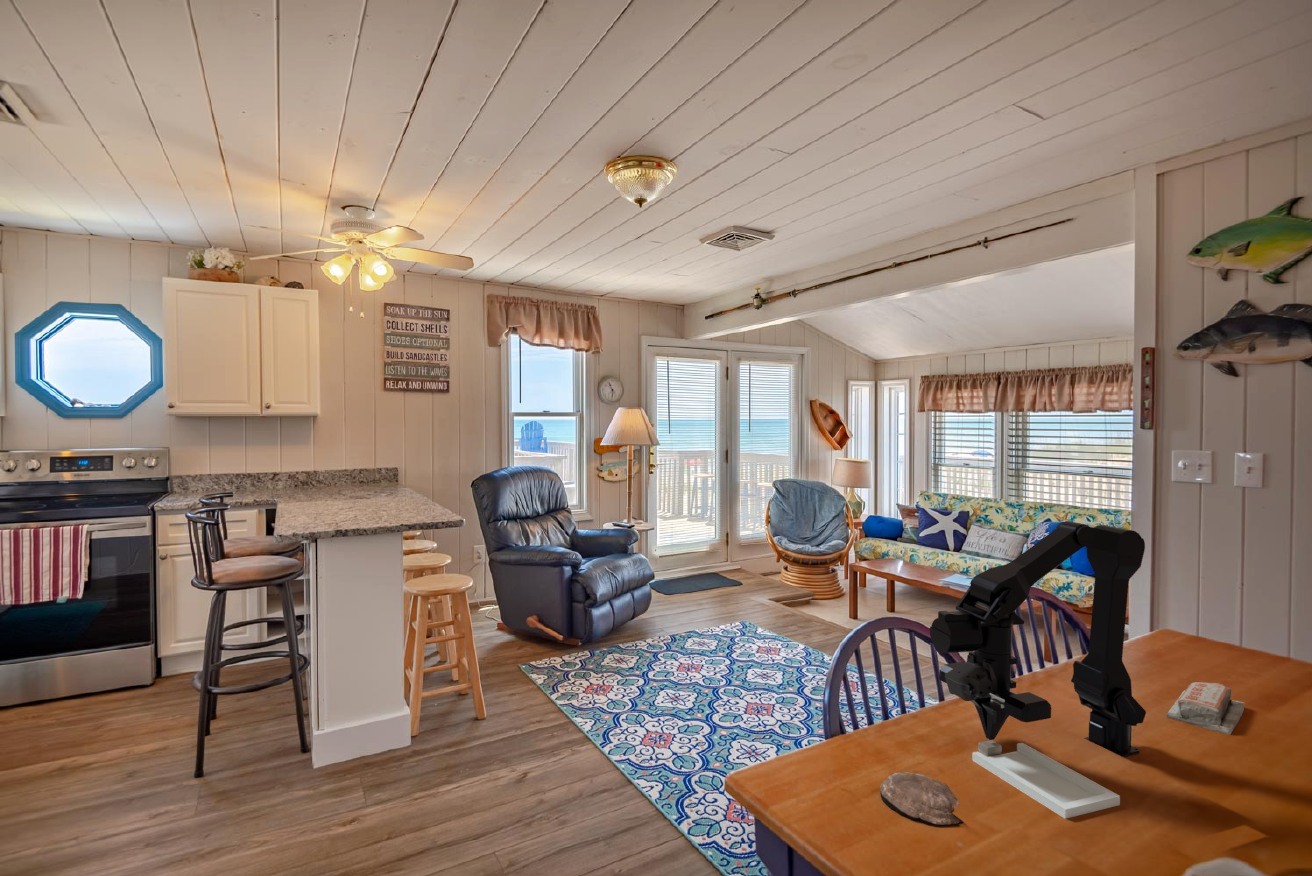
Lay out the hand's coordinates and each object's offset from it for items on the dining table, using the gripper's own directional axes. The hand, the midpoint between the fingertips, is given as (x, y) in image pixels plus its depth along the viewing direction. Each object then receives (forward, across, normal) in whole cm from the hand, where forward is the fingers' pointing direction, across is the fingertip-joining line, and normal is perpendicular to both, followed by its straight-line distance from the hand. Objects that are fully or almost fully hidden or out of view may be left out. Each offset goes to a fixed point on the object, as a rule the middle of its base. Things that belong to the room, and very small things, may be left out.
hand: (990, 738), depth 114 cm
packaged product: (+4, 0, +57) cm, 57 cm away
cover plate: (+4, -4, 0) cm, 6 cm away
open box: (+4, +10, 0) cm, 11 cm away
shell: (+4, +7, -20) cm, 22 cm away
